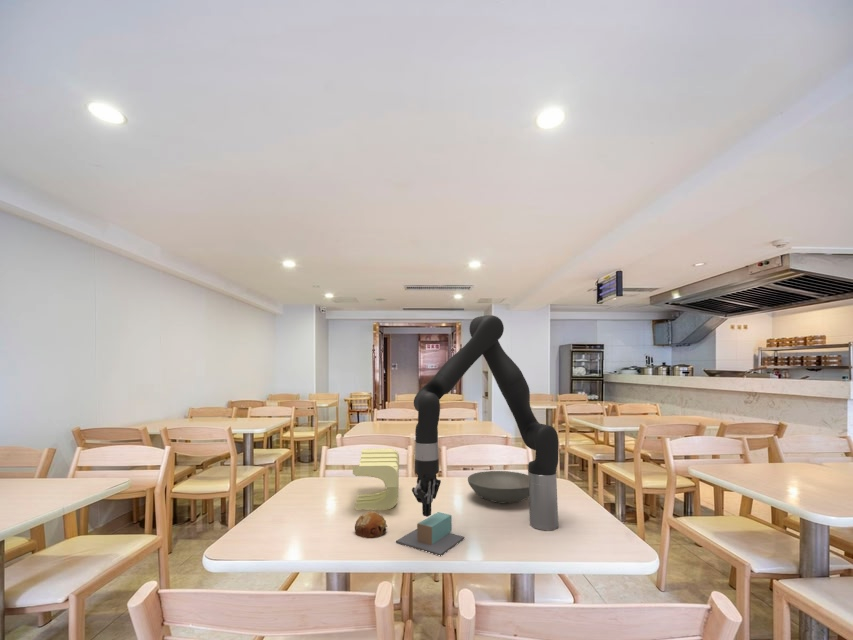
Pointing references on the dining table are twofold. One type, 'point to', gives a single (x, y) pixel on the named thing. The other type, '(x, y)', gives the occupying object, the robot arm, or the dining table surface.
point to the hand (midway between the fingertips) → (426, 515)
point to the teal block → (434, 528)
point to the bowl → (500, 486)
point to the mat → (435, 548)
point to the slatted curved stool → (381, 467)
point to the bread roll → (370, 525)
